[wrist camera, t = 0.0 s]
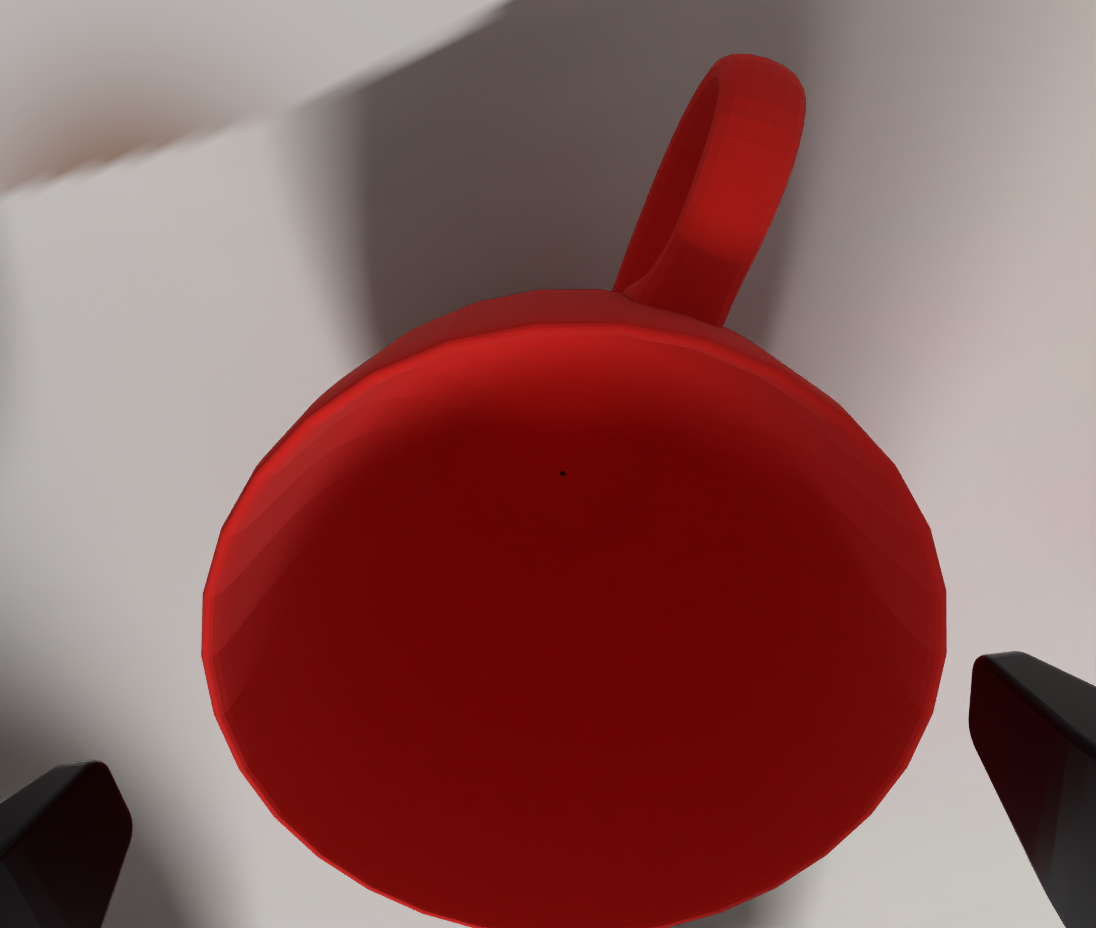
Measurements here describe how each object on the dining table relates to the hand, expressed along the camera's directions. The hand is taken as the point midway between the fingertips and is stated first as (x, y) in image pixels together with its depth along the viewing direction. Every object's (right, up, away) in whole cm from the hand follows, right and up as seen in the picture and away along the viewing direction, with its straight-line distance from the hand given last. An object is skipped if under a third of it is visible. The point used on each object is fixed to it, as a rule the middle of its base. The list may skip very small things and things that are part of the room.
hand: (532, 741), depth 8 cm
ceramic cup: (+1, +5, +14) cm, 15 cm away
